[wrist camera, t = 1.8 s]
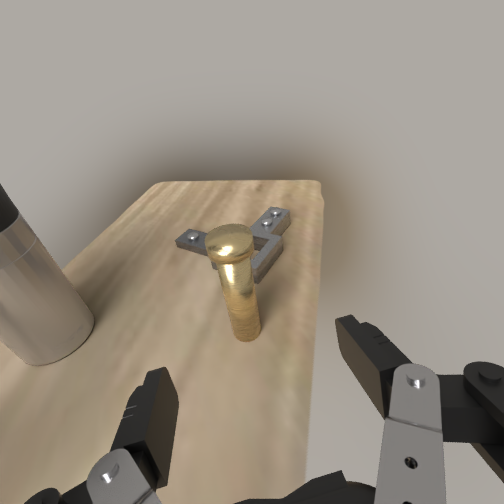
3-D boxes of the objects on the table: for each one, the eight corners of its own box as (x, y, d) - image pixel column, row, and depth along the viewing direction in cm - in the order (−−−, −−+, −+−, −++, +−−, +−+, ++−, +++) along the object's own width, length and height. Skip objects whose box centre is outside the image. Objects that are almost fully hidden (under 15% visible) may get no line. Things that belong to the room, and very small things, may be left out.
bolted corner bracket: (168, 253, 50) (162, 237, 48) (221, 209, 61) (218, 194, 59) (258, 283, 42) (255, 265, 40) (301, 226, 53) (301, 209, 50)
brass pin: (222, 337, 35) (194, 245, 26) (241, 310, 38) (222, 220, 29) (253, 351, 33) (235, 257, 24) (271, 322, 36) (261, 229, 27)
